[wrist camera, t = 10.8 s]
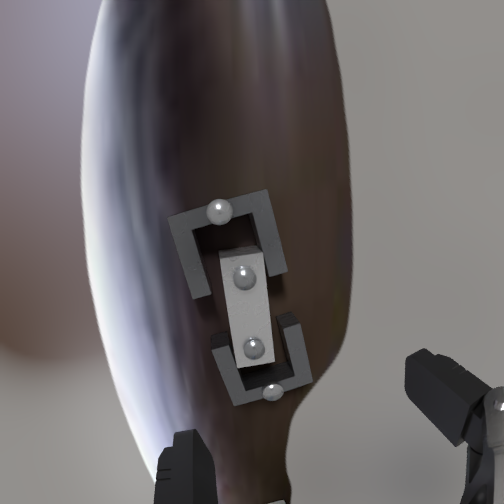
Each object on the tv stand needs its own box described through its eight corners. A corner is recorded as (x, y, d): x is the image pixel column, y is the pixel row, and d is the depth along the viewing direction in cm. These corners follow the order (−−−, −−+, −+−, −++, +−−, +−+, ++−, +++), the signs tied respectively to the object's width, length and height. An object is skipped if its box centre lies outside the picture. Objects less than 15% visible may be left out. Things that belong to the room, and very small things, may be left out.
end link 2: (304, 368, 30) (315, 386, 26) (232, 391, 29) (235, 411, 26) (291, 311, 29) (301, 326, 25) (211, 335, 28) (211, 353, 24)
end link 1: (171, 212, 25) (165, 214, 22) (259, 187, 26) (267, 185, 23) (194, 288, 27) (192, 301, 23) (279, 263, 28) (289, 273, 24)
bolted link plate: (218, 250, 27) (220, 260, 22) (255, 244, 27) (264, 253, 23) (233, 347, 29) (237, 371, 24) (266, 342, 29) (275, 364, 25)
